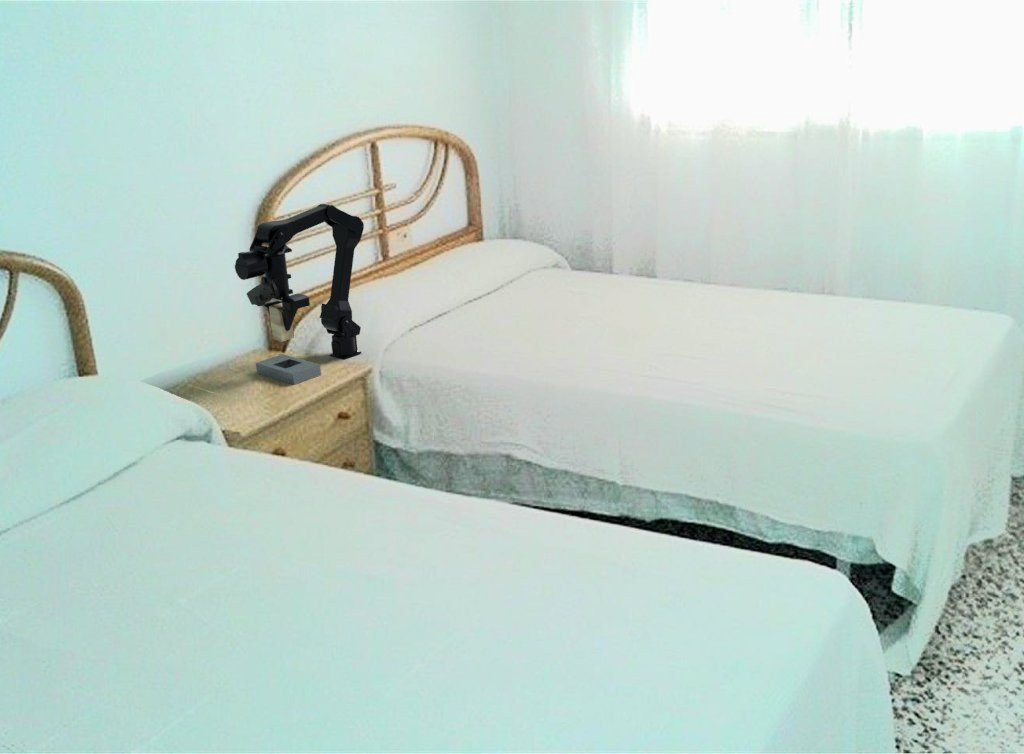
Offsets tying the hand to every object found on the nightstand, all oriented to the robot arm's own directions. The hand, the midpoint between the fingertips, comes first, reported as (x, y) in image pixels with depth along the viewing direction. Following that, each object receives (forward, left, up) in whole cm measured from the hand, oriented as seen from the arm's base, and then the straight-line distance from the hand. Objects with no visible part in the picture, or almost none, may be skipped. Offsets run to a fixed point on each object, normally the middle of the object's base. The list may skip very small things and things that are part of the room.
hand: (282, 329), depth 274 cm
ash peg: (0, 0, -2) cm, 3 cm away
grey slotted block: (0, 0, -12) cm, 13 cm away
